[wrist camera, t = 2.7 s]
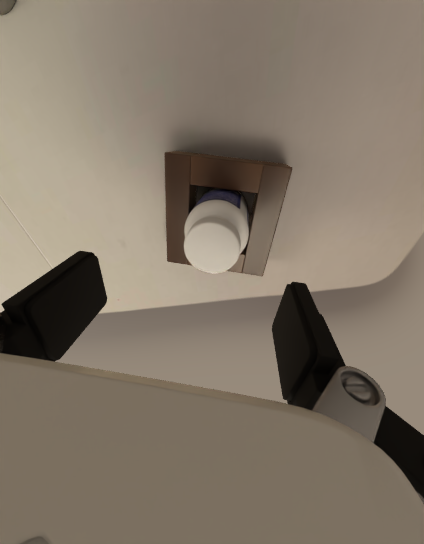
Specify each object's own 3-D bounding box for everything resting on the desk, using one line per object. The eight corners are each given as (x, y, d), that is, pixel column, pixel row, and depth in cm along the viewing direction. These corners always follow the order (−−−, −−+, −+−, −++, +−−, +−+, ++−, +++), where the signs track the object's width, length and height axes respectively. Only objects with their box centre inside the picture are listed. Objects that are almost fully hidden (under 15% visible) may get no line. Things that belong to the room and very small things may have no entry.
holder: (286, 163, 19) (292, 167, 16) (260, 261, 24) (262, 276, 22) (175, 150, 19) (164, 152, 17) (175, 248, 25) (167, 261, 22)
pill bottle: (188, 206, 22) (158, 239, 15) (228, 173, 20) (218, 193, 12) (218, 244, 24) (205, 291, 16) (258, 218, 22) (264, 259, 14)
